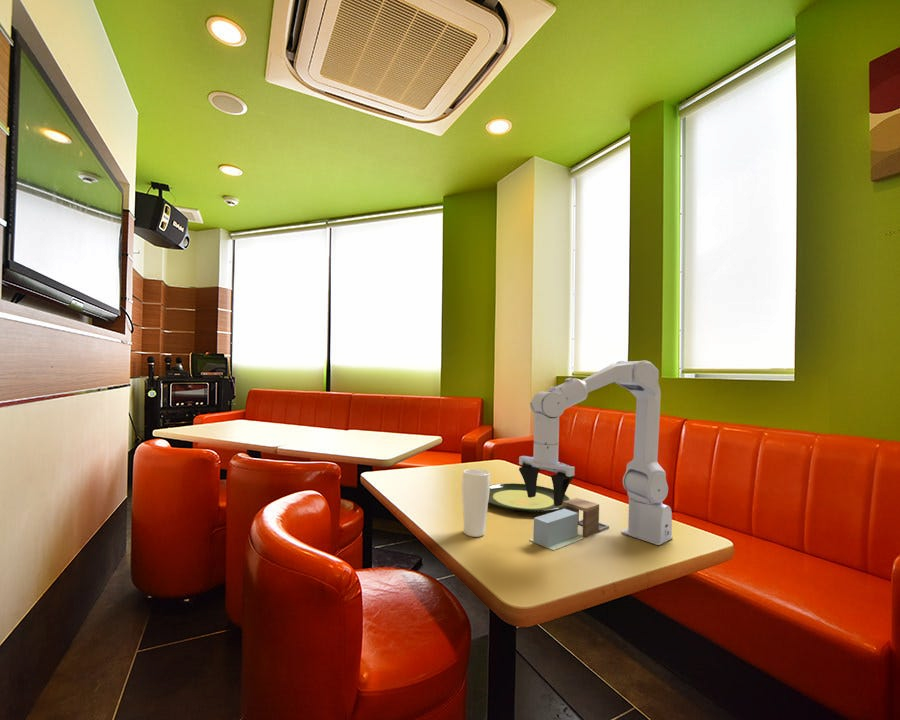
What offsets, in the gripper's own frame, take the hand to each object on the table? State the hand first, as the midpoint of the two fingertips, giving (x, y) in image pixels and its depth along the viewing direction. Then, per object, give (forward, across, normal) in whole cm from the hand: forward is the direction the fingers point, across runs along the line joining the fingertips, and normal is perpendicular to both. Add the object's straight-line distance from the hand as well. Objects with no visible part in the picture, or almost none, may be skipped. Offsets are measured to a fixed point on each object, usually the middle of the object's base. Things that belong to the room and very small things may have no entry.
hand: (544, 500), depth 97 cm
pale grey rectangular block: (+10, 0, +4) cm, 11 cm away
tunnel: (+10, 0, +15) cm, 18 cm away
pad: (+10, 0, +5) cm, 11 cm away
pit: (+10, 0, +20) cm, 22 cm away
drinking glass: (+10, -14, -9) cm, 19 cm away
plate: (+10, -24, +21) cm, 33 cm away
